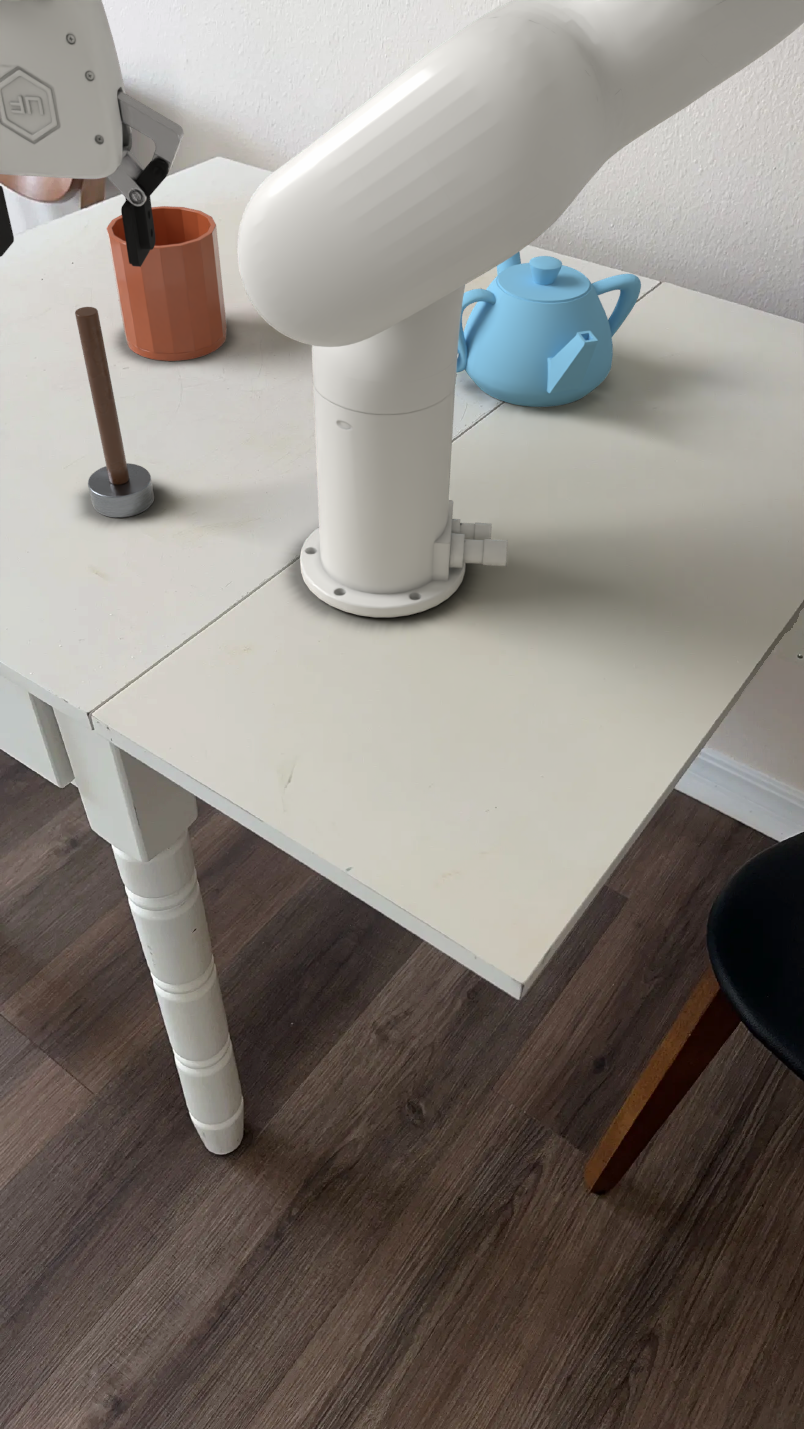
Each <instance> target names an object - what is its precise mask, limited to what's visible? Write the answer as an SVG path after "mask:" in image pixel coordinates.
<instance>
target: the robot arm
mask: <svg viewBox="0 0 804 1429" xmlns="http://www.w3.org/2000/svg"><path fill="white" fill-rule="evenodd" d="M803 24H804V0H510V1H508V2H506V3H504V4H502V5H500V6H497V7H495V8H493V9H492V10H489V11H488V12H486V13H484V14H483V15H481V16H480V17H478V18H476V19H475V20H473V21H471V22H470V23H468V24H467V25H466V26H464V27H463V28H461V29H460V30H458V31H457V32H455V33H454V34H453V35H451V36H450V37H449V38H447V39H446V40H444V41H443V42H441V43H439V44H438V45H437V46H436V47H434V48H433V49H432V50H430V51H429V52H428V53H426V54H425V55H424V56H422V57H421V58H420V59H419V60H416V62H415V63H413V64H411V66H409V67H408V68H407V69H406V70H404V71H403V72H401V73H400V74H399V75H397V76H396V77H395V78H393V79H392V80H391V81H390V82H389V83H387V84H386V85H385V86H384V87H382V88H381V89H380V90H379V91H377V92H376V93H375V94H374V95H372V96H371V97H370V98H368V99H367V100H366V101H365V102H363V103H362V104H360V105H359V106H357V108H355V109H354V110H352V111H351V112H350V113H349V114H348V115H346V116H344V117H343V119H341V120H340V121H338V122H337V123H336V124H334V125H333V126H332V127H331V128H330V129H328V130H327V131H326V132H324V133H323V134H322V135H320V136H319V137H318V138H316V139H315V140H314V141H312V142H311V143H309V145H307V146H306V147H305V148H303V149H302V150H300V152H297V154H296V155H294V156H293V157H292V158H290V159H289V160H288V161H287V162H285V163H283V164H282V165H281V166H280V167H278V168H277V169H275V170H274V171H273V172H272V173H270V174H269V175H268V176H267V177H266V178H264V179H263V181H262V182H261V183H260V184H259V185H258V187H257V188H256V189H255V191H254V192H253V193H252V195H251V197H250V198H249V200H248V202H247V204H246V206H245V208H244V211H243V213H242V216H241V219H240V223H239V227H238V234H237V242H236V257H237V266H238V272H239V276H240V279H241V283H242V286H243V289H244V291H245V293H246V296H247V297H248V300H249V302H250V303H251V305H252V306H253V308H254V310H255V311H256V312H257V313H258V315H259V316H260V317H261V318H262V319H263V320H264V321H265V322H266V323H267V324H268V325H269V326H271V327H272V328H273V329H274V330H275V331H277V332H278V333H280V334H281V335H283V336H286V337H287V338H289V339H291V340H294V341H295V342H299V343H302V344H304V345H309V346H311V368H312V369H311V370H312V397H313V419H314V442H315V443H314V444H315V462H316V463H315V464H316V486H317V505H318V508H317V509H318V527H317V528H315V529H314V530H312V532H311V533H310V534H309V535H308V537H307V538H306V539H305V541H304V542H303V545H302V546H301V549H300V556H299V562H300V564H299V565H300V573H301V576H302V579H303V583H305V585H306V586H307V588H308V589H309V591H310V592H311V593H312V594H313V595H315V596H316V597H317V598H318V599H319V600H320V601H322V602H324V603H326V604H327V605H328V606H330V607H332V608H335V609H338V610H340V611H343V612H345V613H349V614H352V615H355V616H356V615H357V616H360V617H370V618H398V617H407V616H410V615H411V616H412V615H414V614H417V613H422V612H425V611H428V610H429V609H432V608H435V607H437V606H438V605H441V603H443V602H445V601H446V600H448V599H449V598H450V597H451V596H452V595H453V594H455V592H457V590H458V589H459V587H460V586H461V584H462V582H463V580H464V577H465V574H466V564H478V565H481V566H494V567H495V566H496V567H507V560H508V544H509V542H508V539H493V538H492V526H493V524H492V523H490V522H489V523H488V522H475V523H473V522H461V518H453V516H454V515H453V513H454V512H453V511H454V500H452V499H450V488H451V486H450V484H451V468H452V451H453V450H452V448H453V434H454V432H453V430H454V415H455V396H456V384H457V373H456V371H457V358H458V340H459V329H460V319H461V310H462V302H463V296H464V293H465V288H466V285H467V284H469V283H470V282H473V281H474V280H476V279H478V278H479V277H481V276H482V275H484V274H486V273H488V272H490V271H491V270H493V269H495V268H497V266H498V265H499V264H501V263H503V262H504V261H506V260H507V259H509V258H510V257H512V256H513V255H515V254H516V253H518V252H519V251H520V252H521V251H522V250H523V249H525V248H527V246H529V245H530V244H531V243H533V242H534V241H535V240H537V239H538V238H539V237H541V236H542V235H543V234H544V233H545V232H546V231H547V230H548V229H550V228H551V226H553V225H554V224H555V223H556V222H557V221H558V220H559V218H560V217H561V216H562V215H563V214H564V213H565V211H566V210H568V208H569V207H570V205H572V203H573V202H574V201H575V200H576V198H577V197H578V196H579V195H580V193H581V192H582V191H583V189H584V188H585V187H586V186H587V184H589V183H590V181H591V180H592V179H593V178H594V176H595V175H596V174H597V173H598V172H599V170H600V169H601V168H602V167H603V166H604V165H605V163H606V162H607V161H608V160H610V159H611V158H612V157H613V156H614V155H616V154H617V153H619V152H620V151H621V150H623V149H624V148H625V147H626V146H628V145H629V144H631V143H632V142H634V141H636V139H638V138H640V137H641V136H643V135H644V134H646V133H648V132H649V131H651V130H652V129H654V128H655V127H657V126H659V125H660V124H661V123H663V122H665V121H667V120H668V119H670V118H671V117H673V116H674V115H676V114H677V113H679V112H681V111H683V110H684V109H686V108H688V107H689V106H691V104H693V103H694V102H696V101H697V100H699V99H700V98H702V97H703V96H704V95H706V94H707V93H709V92H710V91H712V90H714V88H716V87H718V86H719V85H721V84H722V83H723V82H725V81H727V80H728V79H730V78H731V77H733V76H734V75H736V74H737V73H739V72H740V71H743V69H745V68H746V67H748V66H749V65H751V64H753V63H754V62H755V61H757V60H758V59H760V58H761V57H762V56H764V55H765V54H766V53H768V52H769V51H771V50H772V49H774V47H776V46H778V45H779V44H780V43H781V42H782V41H784V40H785V39H786V38H788V37H789V36H791V34H793V33H794V32H796V30H797V29H798V28H800V27H801V26H802V25H803ZM111 30H112V29H111V26H110V23H109V20H108V16H107V12H106V9H105V7H104V4H103V1H102V0H0V175H7V176H21V177H37V178H38V177H39V178H56V179H74V180H75V179H76V180H77V179H78V180H98V179H104V178H107V179H108V180H109V181H110V183H111V184H113V186H114V187H115V188H116V189H117V190H118V191H119V192H120V194H121V195H122V196H124V198H125V201H124V203H123V204H122V206H121V209H120V211H121V212H120V213H121V215H122V220H123V226H124V233H125V239H126V246H127V253H128V259H129V263H130V264H132V266H137V267H141V265H142V264H143V262H144V260H145V258H146V257H147V255H148V253H149V251H150V250H152V249H153V248H154V246H155V230H154V222H153V214H152V207H153V206H152V199H151V196H152V194H153V193H154V192H155V191H156V189H157V188H158V187H159V186H160V185H161V184H162V183H163V182H164V180H166V178H167V176H168V174H169V173H170V171H171V170H172V168H173V164H174V162H175V160H176V157H177V155H178V152H179V150H180V147H181V144H182V142H183V139H184V135H185V132H184V129H183V127H182V126H181V125H180V124H178V123H176V122H174V121H173V120H171V119H170V118H168V117H167V116H164V115H163V114H161V113H160V112H158V111H156V110H154V109H153V108H151V107H150V106H148V105H146V104H145V103H143V102H141V101H139V100H137V99H136V98H134V97H132V96H131V95H129V94H127V93H126V88H125V84H124V79H123V75H122V69H121V65H120V64H121V63H120V60H119V56H118V52H117V48H116V44H115V41H114V37H113V34H112V31H111ZM132 129H133V130H135V131H136V132H139V133H140V134H142V135H143V136H145V137H147V138H149V139H150V140H152V141H153V143H154V146H155V148H154V152H153V155H152V158H151V160H150V162H149V163H148V164H147V165H146V166H144V165H143V164H142V162H140V160H138V158H136V156H135V155H134V153H132V152H131V150H132V147H133V131H132ZM14 236H15V235H14V232H13V227H12V223H11V219H10V213H9V210H8V206H7V201H6V197H5V192H4V187H3V186H2V185H0V258H1V257H3V256H4V255H5V253H6V252H7V251H8V250H9V248H10V247H11V246H12V245H13V244H14V243H15V237H14ZM491 538H492V539H491Z"/></svg>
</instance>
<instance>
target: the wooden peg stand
mask: <svg viewBox="0 0 804 1429" xmlns="http://www.w3.org/2000/svg"><path fill="white" fill-rule="evenodd" d="M74 315H75V320H76V324H77V330H78V335H79V339H80V345H81V350H82V356H83V360H84V363H85V364H84V365H85V369H86V375H87V378H88V384H89V388H90V394H91V398H92V403H93V408H94V413H95V418H96V422H97V427H98V432H99V437H100V443H101V448H102V452H103V453H102V454H103V458H104V462H105V466H103V467H100V468H98V469H97V470H95V471H94V472H93V473H91V475H90V476H89V477H88V480H87V486H88V492H89V496H90V501H91V504H92V507H93V509H94V510H95V511H96V512H97V513H98V514H101V515H103V516H105V517H110V518H129V517H134V516H136V515H139V514H141V513H143V512H146V511H147V510H148V509H149V508H150V507H151V506H152V505H153V503H154V500H155V494H154V487H153V482H152V476H151V473H150V472H149V470H147V468H145V467H143V466H141V465H138V464H135V463H128V462H127V459H126V454H125V448H124V443H123V437H122V433H121V426H120V422H119V414H118V410H117V406H116V400H115V395H114V394H115V393H114V389H113V385H112V380H111V374H110V368H109V363H108V357H107V351H106V348H105V342H104V336H103V332H102V326H101V320H100V315H99V311H98V309H97V308H96V307H93V306H82V307H79V308H77V309H76V310H75V311H74Z"/></svg>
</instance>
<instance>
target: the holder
mask: <svg viewBox="0 0 804 1429" xmlns="http://www.w3.org/2000/svg"><path fill="white" fill-rule="evenodd" d="M151 207H152V214H153V222H154V230H155V246H154V248H153V249H152V250H150V251H149V253H148V255H147V257H146V258H145V260H144V262H143V264H142V265H141V267H137V266H132V264H130V263H129V259H128V253H127V246H126V239H125V233H124V226H123V220H122V214H120V215H119V216H117V217H114V218H113V219H112V220H110V222H109V223H108V225H107V227H106V233H107V240H108V247H109V251H110V258H111V262H112V269H113V275H114V281H115V285H116V286H115V287H116V291H117V298H118V304H119V309H120V315H121V321H122V326H123V332H124V335H125V340H126V345H127V347H128V348H129V349H130V351H132V352H133V353H134V354H137V355H138V356H139V357H143V358H146V359H150V360H155V361H164V362H176V361H177V362H180V361H189V360H193V359H197V358H201V357H204V356H207V355H209V354H211V353H213V352H216V351H217V350H218V349H220V348H221V347H222V346H223V345H224V343H225V342H226V340H227V336H228V334H227V328H228V325H227V318H226V317H227V316H226V308H225V298H224V288H223V287H224V286H223V278H222V269H221V259H220V248H219V238H218V230H217V223H216V222H215V219H214V218H213V216H212V215H209V214H207V213H205V212H203V211H201V210H198V209H194V208H189V207H185V206H172V205H171V206H170V205H164V206H163V205H162V206H151Z"/></svg>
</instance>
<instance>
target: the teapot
mask: <svg viewBox="0 0 804 1429" xmlns="http://www.w3.org/2000/svg"><path fill="white" fill-rule="evenodd" d="M520 252H521V251H519V252H518V253H516V254H515V255H513V256H512V257H510V258H509V259H507V260H506V261H504V262H503V263H501V264H499V265H498V266H496V273H497V274H496V277H495V278H494V279H493V280H492V281H491V282H490V283H489V284H488V286H487V287H486V288H485V289H484V288H474V289H470V290H467V291H464V296H463V302H462V310H461V319H460V329H459V340H458V355H457V371H456V374H457V373H462V372H463V371H465V372H466V374H467V375H468V376H469V378H470V379H471V380H472V381H473V383H474V384H475V385H476V386H477V387H478V388H479V389H480V390H481V391H482V392H484V394H486V395H488V396H490V397H492V398H493V399H496V400H499V401H500V402H501V401H502V402H504V403H507V404H512V405H515V406H516V405H517V406H520V407H521V406H522V407H530V408H549V407H558V406H564V405H568V404H571V403H574V402H577V401H579V400H581V399H583V398H584V397H586V396H587V395H589V394H590V393H591V392H593V391H594V390H596V388H598V387H599V386H600V385H601V384H602V383H603V382H604V381H605V380H606V378H607V377H608V375H609V373H610V372H611V369H612V365H613V357H614V356H613V355H614V348H613V347H614V346H613V337H614V336H615V334H616V333H617V332H618V330H619V329H620V327H621V326H622V325H623V323H624V322H625V321H626V319H627V318H628V316H629V315H630V313H631V312H632V311H633V309H634V307H635V306H636V303H637V301H638V299H639V296H640V293H641V289H642V282H641V279H640V277H639V276H638V275H635V274H633V273H621V274H615V275H612V276H608V277H606V278H602V279H599V280H597V281H595V282H591V280H590V279H589V278H588V277H587V276H586V274H584V273H583V272H581V271H579V270H577V268H576V269H575V268H573V267H571V266H568V265H563V261H561V260H560V259H559V258H558V257H557V258H556V257H555V256H551V255H539V256H535V257H532V258H531V259H529V262H522V259H521V253H520ZM618 290H619V296H618V299H617V302H616V304H615V306H614V309H613V310H612V312H611V314H610V315H609V318H608V315H607V313H606V310H605V308H604V305H603V304H602V301H601V299H600V297H599V296H600V295H604V294H606V293H609V292H613V291H618ZM474 303H475V304H474ZM472 304H474V306H473V308H472V310H471V312H470V313H469V315H468V318H467V320H466V322H465V326H464V328H463V314H464V311H465V310H466V308H468V306H470V305H472Z"/></svg>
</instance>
